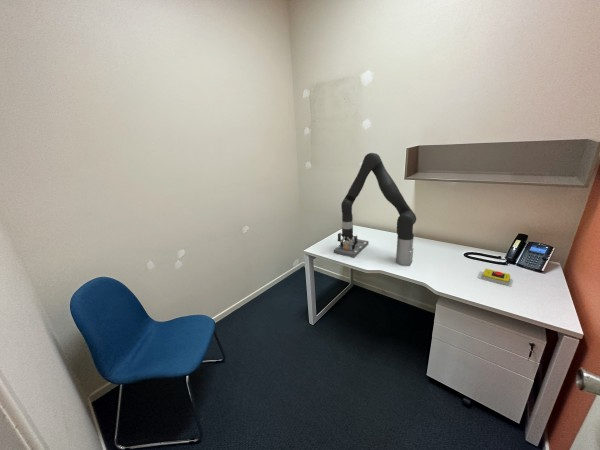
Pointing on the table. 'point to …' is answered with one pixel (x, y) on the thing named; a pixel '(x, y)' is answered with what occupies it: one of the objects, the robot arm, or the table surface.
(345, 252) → the panel
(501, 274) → the emergency button
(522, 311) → the table surface
